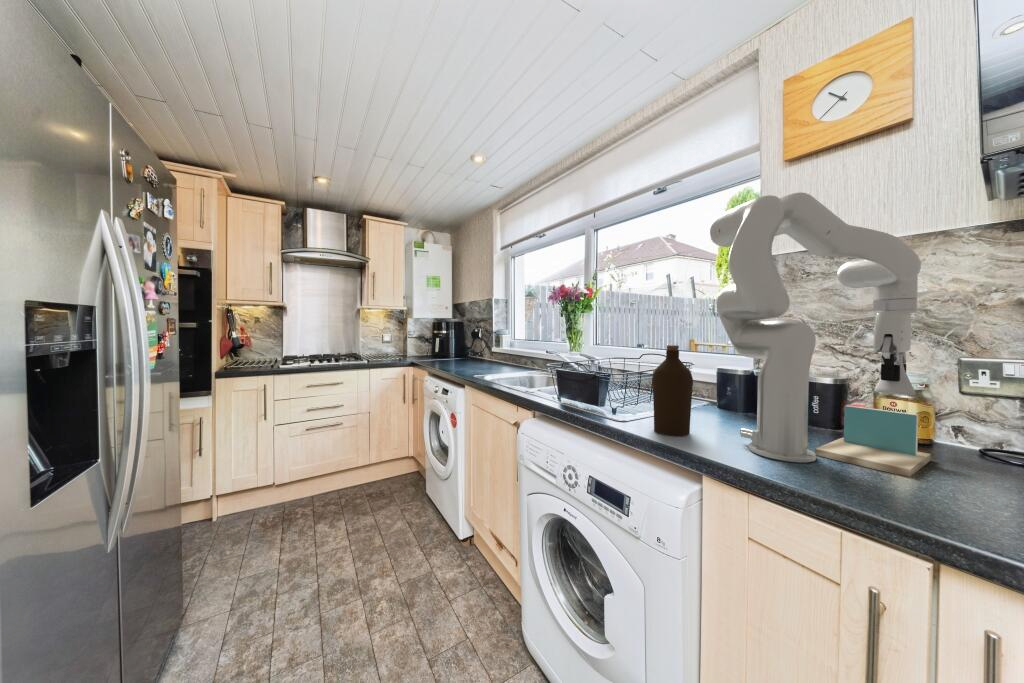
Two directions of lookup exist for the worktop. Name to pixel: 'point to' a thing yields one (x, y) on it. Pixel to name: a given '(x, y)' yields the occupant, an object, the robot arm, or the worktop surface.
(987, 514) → the worktop surface
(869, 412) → the tile
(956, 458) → the worktop surface
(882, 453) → the board
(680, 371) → the olive oil
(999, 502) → the worktop surface
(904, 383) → the flask
